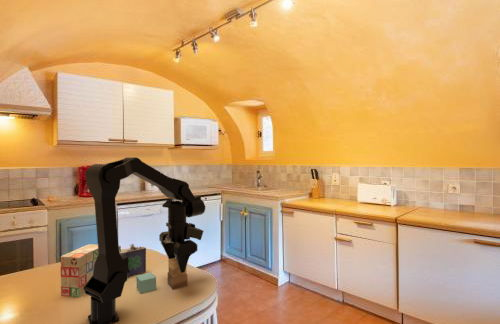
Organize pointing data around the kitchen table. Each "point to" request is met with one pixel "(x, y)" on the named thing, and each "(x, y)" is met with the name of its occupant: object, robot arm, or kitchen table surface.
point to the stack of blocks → (78, 269)
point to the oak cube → (175, 268)
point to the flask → (135, 260)
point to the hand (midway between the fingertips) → (177, 267)
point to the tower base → (146, 282)
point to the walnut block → (177, 281)
